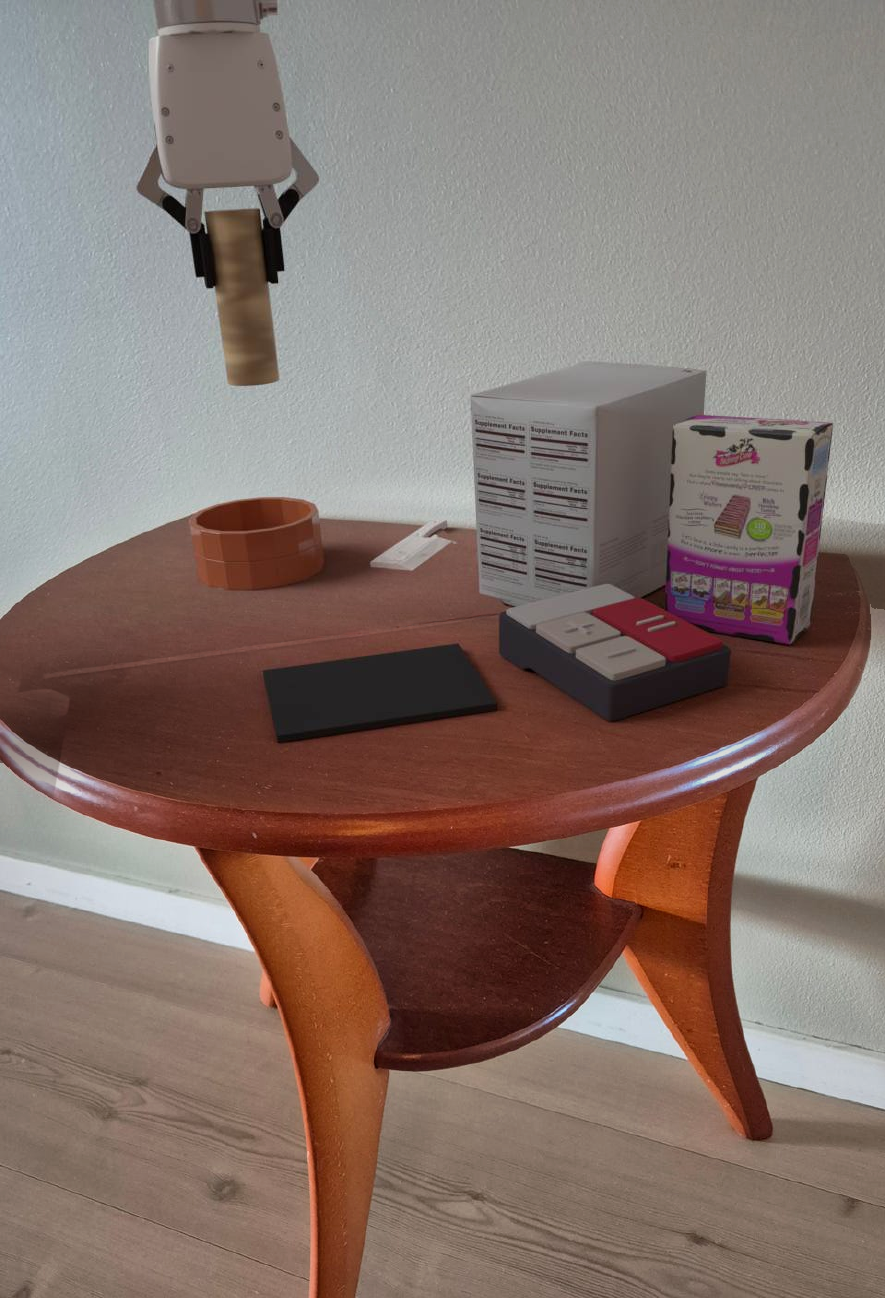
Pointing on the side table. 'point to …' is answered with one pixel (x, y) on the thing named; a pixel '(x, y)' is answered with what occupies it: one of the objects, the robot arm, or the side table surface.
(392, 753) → the side table surface
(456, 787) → the side table surface
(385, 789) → the side table surface
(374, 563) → the butcher knife
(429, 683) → the mat
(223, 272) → the pestle
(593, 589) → the calculator
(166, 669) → the side table surface
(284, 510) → the crock
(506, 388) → the supplement box
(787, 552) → the candy bar box
